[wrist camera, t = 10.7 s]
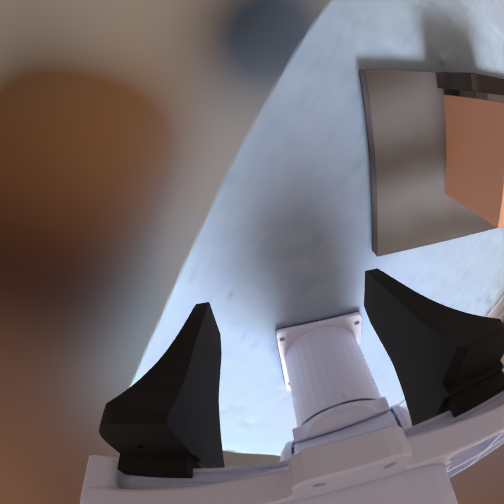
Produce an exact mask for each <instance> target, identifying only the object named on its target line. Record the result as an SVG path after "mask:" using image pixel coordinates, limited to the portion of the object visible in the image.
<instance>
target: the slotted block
mask: <svg viewBox="0 0 504 504" xmlns="http://www.w3.org/2000/svg"><path fill="white" fill-rule="evenodd" d="M444 106H445V122H446V187H445V195H447V196H448V197H450V198H452V199H453V200H455V201H457V202H458V203H460V204H462V205H463V206H465V207H466V208H468V209H469V210H471V211H473V212H474V213H476V214H477V215H479V216H480V217H482V218H483V219H485V220H486V221H488V222H489V223H491V224H492V225H494V226H495V227H496V228H501V227H504V102H499V101H493V100H484V99H476V98H469V97H461V96H452V95H444Z"/></svg>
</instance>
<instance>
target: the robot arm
mask: <svg viewBox="0 0 504 504" xmlns="http://www.w3.org/2000/svg"><path fill="white" fill-rule="evenodd" d="M364 307H365V310H366V312H367V315H368V317H369V320H370V322H371V324H372V326H373V328H374V330H375V332H376V333H377V335H378V337H379V339H380V341H381V342H382V344H383V346H384V348H385V350H386V351H387V353H388V355H389V357H390V359H391V361H392V363H393V365H394V368H395V371H396V373H397V376H398V379H399V381H400V384H401V387H402V390H403V393H404V396H405V400H406V403H407V407H408V410H409V411H408V410H407V409H406V408H404V407H401V406H400V405H398V404H396V405H393V406H391V407H389V405H388V402H387V400H386V398H385V397H382V398H381V396H380V394H379V391H378V389H377V386H376V384H375V382H374V379H373V377H372V374H371V372H370V370H369V367H368V365H367V363H366V360H365V358H364V356H363V354H362V351H361V349H360V338H361V324H362V316H361V314H360V313H359V312H356V313H352V314H348V315H343V316H339V317H335V318H330V319H326V320H321V321H317V322H312V323H308V324H303V325H298V326H293V327H288V328H283V329H279V330H277V332H276V338H277V343H278V348H279V353H280V359H281V364H282V369H283V375H284V380H285V385H286V390H288V391H291V394H292V400H293V405H294V411H295V416H296V421H297V428H294V429H293V436H294V441H290V442H287V443H286V445H285V447H284V449H283V451H282V453H281V457H280V462H273V463H265V464H258V465H248V466H238V467H224V460H223V452H222V443H221V432H220V419H219V381H220V367H221V338H220V332H219V329H218V327H217V324H216V321H215V318H214V315H213V312H212V309H211V306H210V303H209V302H207V303H201V304H196V305H195V307H194V308H193V310H192V312H191V314H190V315H189V317H188V319H187V320H186V322H185V324H184V326H183V327H182V329H181V330H180V332H179V334H178V335H177V337H176V338H175V340H174V341H173V342H172V344H171V345H170V347H169V348H168V350H167V351H166V352H165V353H164V355H163V356H162V357H161V358H160V359H159V361H158V362H157V363H156V364H155V365H154V366H153V367H152V368H151V369H150V370H149V371H148V372H147V373H146V374H145V375H144V376H143V377H142V378H141V379H140V380H138V381H137V382H136V383H135V384H134V385H132V386H131V387H130V388H129V389H127V390H126V391H125V392H123V393H122V394H120V395H119V396H117V397H116V398H114V399H113V400H111V401H110V402H108V403H107V404H106V406H105V409H104V412H103V416H102V420H101V424H100V427H99V433H100V435H101V436H102V438H103V439H104V440H105V441H106V442H107V443H108V444H109V445H111V446H112V447H113V448H114V449H115V450H117V451H118V452H119V453H120V458H119V460H117V459H115V458H111V457H104V456H97V455H90V456H89V460H88V465H87V470H86V474H85V478H84V483H83V488H82V493H81V498H80V503H81V504H458V502H457V499H456V496H455V493H454V491H453V488H452V485H451V483H450V480H449V478H450V477H452V476H454V475H455V474H457V473H459V472H461V471H462V470H464V469H466V468H467V467H469V466H470V465H472V464H474V463H475V462H477V461H478V460H480V459H481V458H483V457H485V456H486V455H487V454H489V453H490V452H492V451H493V450H495V449H496V448H498V447H499V446H500V445H502V444H503V443H504V372H503V371H502V369H503V368H504V365H503V363H502V362H501V359H502V357H503V355H504V324H503V323H502V322H501V320H500V319H496V318H489V317H482V316H477V315H473V314H468V313H465V312H461V311H458V310H455V309H452V308H449V307H447V306H444V305H442V304H439V303H437V302H435V301H432V300H430V299H428V298H426V297H424V296H423V295H421V294H419V293H417V292H415V291H413V290H412V289H410V288H408V287H406V286H405V285H403V284H402V283H400V282H398V281H397V280H395V279H394V278H392V277H390V276H389V275H387V274H386V273H384V272H382V271H381V270H379V269H373V270H368V271H365V294H364ZM355 321H357V322H355ZM282 337H284V338H282Z"/></svg>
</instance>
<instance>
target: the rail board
mask: <svg viewBox="0 0 504 504" xmlns="http://www.w3.org/2000/svg"><path fill="white" fill-rule="evenodd" d="M359 73H360V79H361V85H362V92H363V99H364V107H365V115H366V123H367V133H368V144H369V156H370V170H371V189H372V251H373V252H374V253H375V254H376V256H382V255H386V254H391V253H395V252H400V251H404V250H408V249H413V248H417V247H421V246H426V245H430V244H434V243H438V242H442V241H447V240H451V239H455V238H459V237H463V236H467V235H471V234H475V233H479V232H483V231H487V230H491V229H495V228H496V227H495V226H494V225H492V224H491V223H489V222H488V221H486V220H485V219H483V218H482V217H480V216H479V215H477V214H476V213H474V212H473V211H471V210H469V209H468V208H466V207H465V206H463V205H462V204H460V203H458V202H457V201H455V200H453V199H452V198H450V197H448V196H447V195H445V187H446V122H445V106H444V95H452V96H461V97H469V98H476V99H484V100H493V101H499V102H504V79H499V78H495V77H490V76H485V75H480V74H474V73H450V72H444V73H435V72H423V71H407V70H360V71H359Z"/></svg>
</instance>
